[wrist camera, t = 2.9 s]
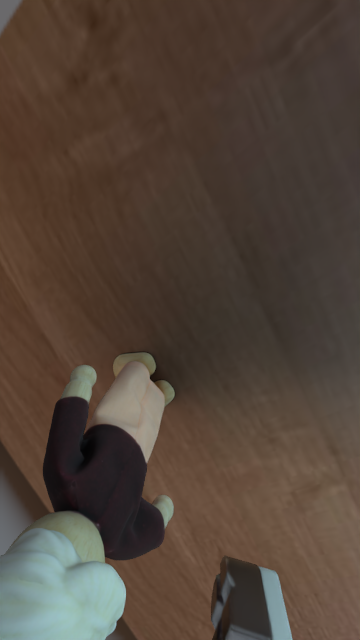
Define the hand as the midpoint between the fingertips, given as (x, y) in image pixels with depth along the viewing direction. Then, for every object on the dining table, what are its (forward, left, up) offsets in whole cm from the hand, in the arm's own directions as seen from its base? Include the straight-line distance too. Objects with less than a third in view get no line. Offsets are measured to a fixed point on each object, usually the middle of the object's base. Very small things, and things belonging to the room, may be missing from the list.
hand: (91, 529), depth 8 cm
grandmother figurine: (0, 0, -9) cm, 9 cm away
